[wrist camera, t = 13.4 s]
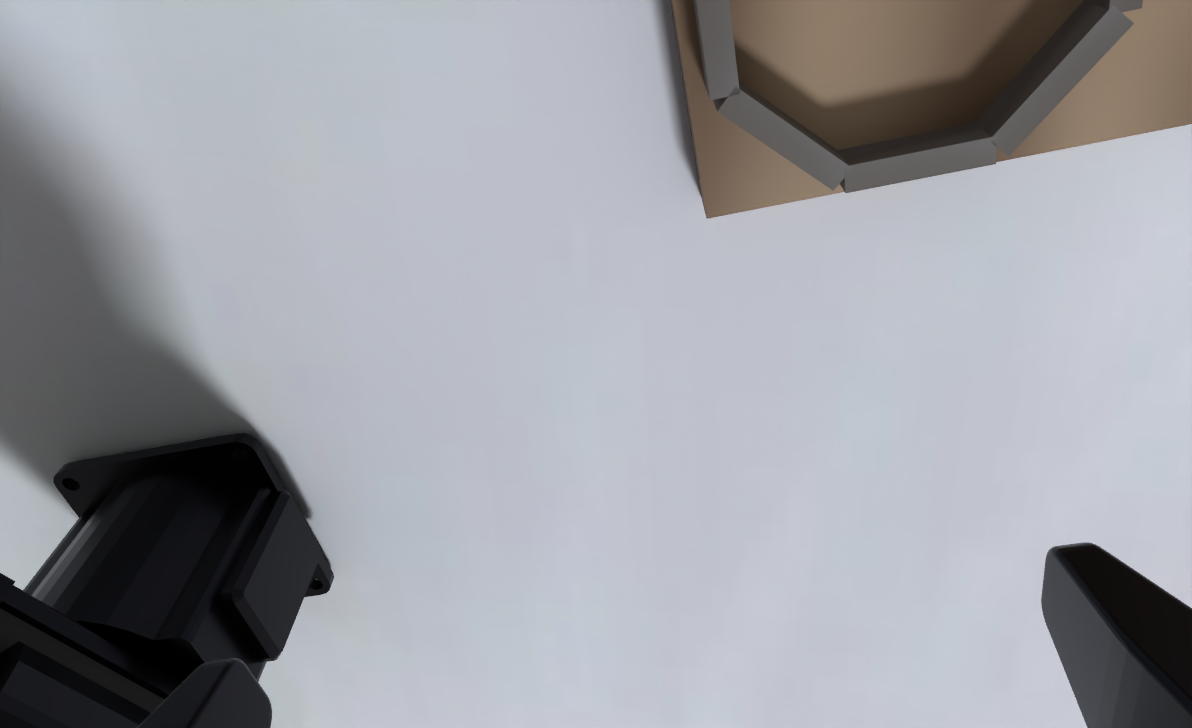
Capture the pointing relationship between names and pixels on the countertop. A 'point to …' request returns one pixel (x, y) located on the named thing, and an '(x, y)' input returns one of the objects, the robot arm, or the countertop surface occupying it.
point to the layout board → (915, 87)
